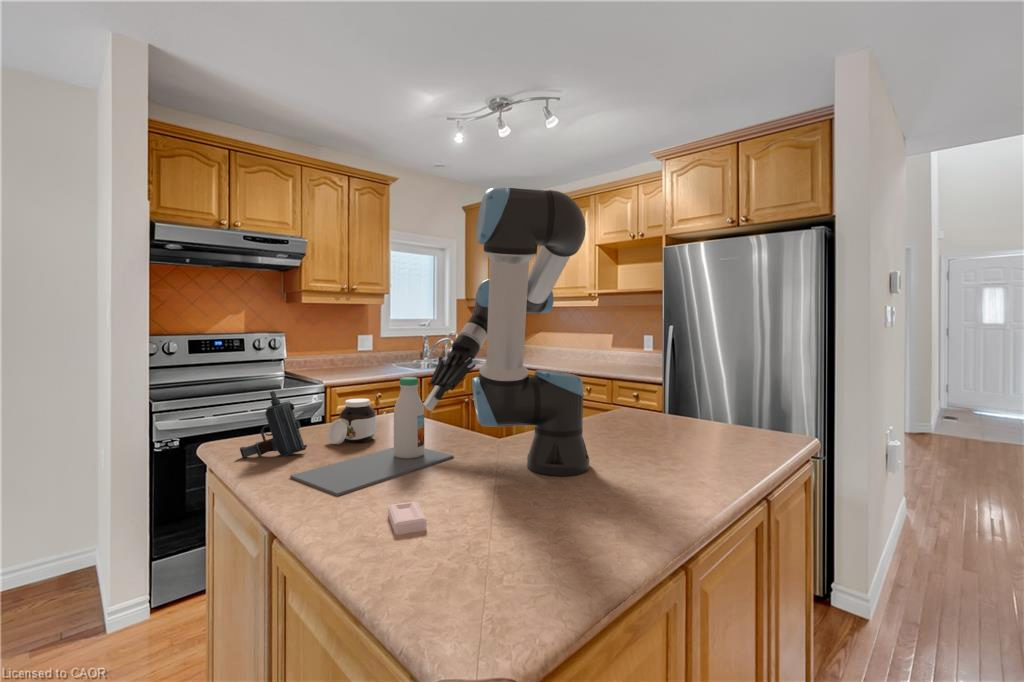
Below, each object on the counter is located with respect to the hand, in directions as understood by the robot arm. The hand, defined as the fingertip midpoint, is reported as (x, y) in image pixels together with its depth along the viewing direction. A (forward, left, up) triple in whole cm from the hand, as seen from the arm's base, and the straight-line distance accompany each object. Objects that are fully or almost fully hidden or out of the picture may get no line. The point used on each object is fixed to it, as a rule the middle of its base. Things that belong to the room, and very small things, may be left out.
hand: (427, 407), depth 133 cm
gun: (+17, +35, -12) cm, 41 cm away
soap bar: (-40, +21, -12) cm, 47 cm away
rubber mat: (-6, +16, -12) cm, 21 cm away
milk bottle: (-3, +6, -11) cm, 13 cm away
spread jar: (+21, +14, -12) cm, 28 cm away
